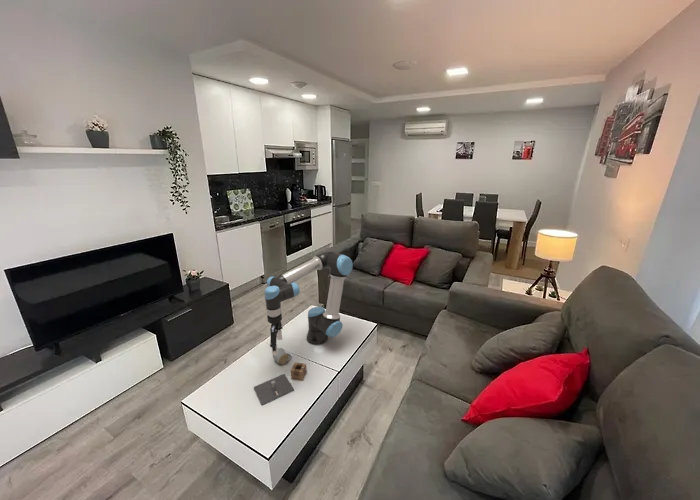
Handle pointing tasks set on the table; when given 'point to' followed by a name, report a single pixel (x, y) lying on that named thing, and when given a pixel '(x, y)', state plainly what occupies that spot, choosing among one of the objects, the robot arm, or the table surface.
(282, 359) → the ceramic mug
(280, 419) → the table surface
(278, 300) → the robot arm
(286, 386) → the metal panel
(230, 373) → the table surface
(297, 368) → the brown cardboard box
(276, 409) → the table surface
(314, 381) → the table surface
